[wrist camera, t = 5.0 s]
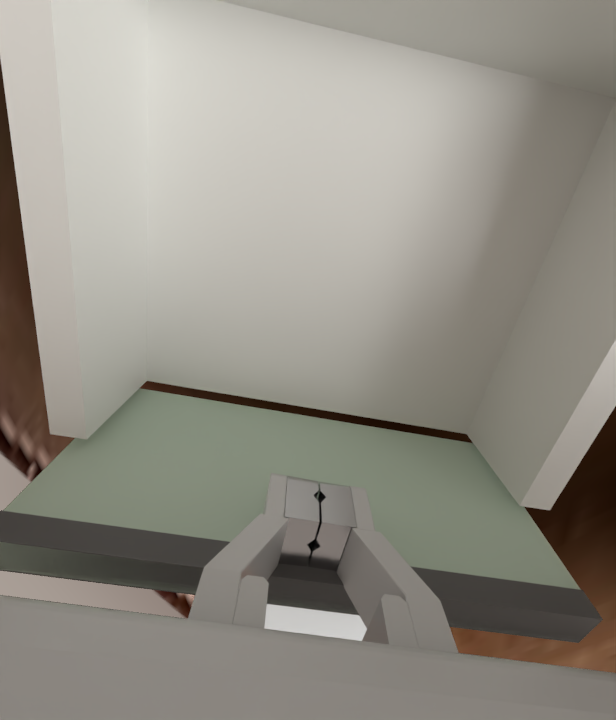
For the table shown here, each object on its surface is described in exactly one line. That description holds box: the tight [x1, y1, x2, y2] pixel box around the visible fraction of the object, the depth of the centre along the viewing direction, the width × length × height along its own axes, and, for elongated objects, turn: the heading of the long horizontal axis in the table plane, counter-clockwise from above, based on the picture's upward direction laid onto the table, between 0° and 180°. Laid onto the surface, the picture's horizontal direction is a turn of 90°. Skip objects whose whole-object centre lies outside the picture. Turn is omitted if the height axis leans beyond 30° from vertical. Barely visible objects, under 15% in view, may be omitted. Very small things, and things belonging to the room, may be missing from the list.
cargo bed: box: [0, 0, 616, 510], centre depth 11 cm, size 18×15×7 cm
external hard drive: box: [264, 604, 367, 641], centre depth 24 cm, size 2×8×12 cm
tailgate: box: [0, 388, 603, 643], centre depth 13 cm, size 17×1×8 cm, turn 79°
